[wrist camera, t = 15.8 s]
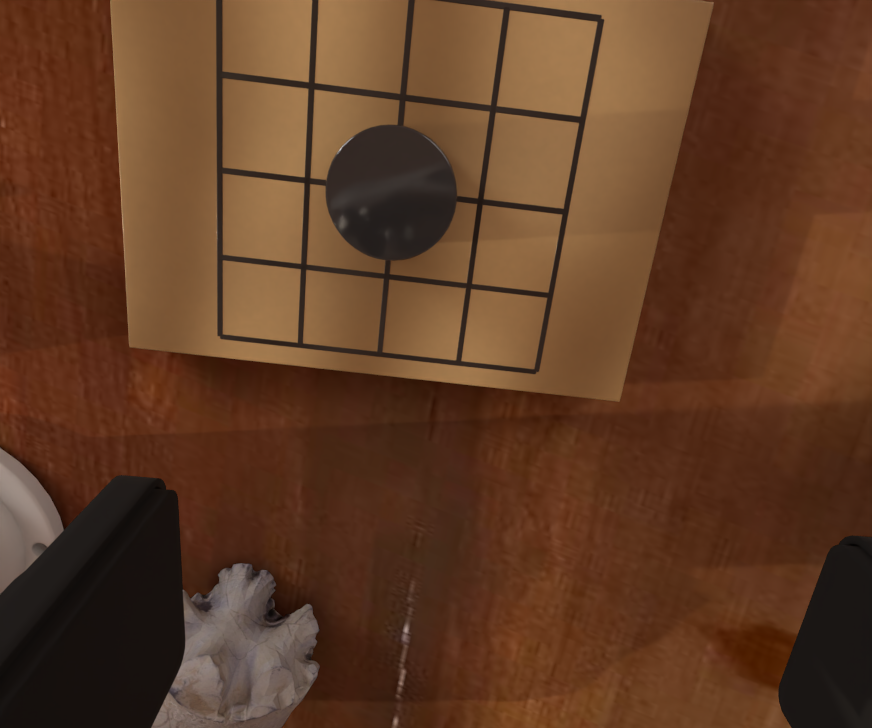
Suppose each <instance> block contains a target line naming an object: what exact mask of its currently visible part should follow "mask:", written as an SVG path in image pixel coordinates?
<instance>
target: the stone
mask: <svg viewBox="0 0 872 728" xmlns="http://www.w3.org/2000/svg"><path fill="white" fill-rule="evenodd" d="M218 576H219V584H217V585H215V587H214V588H213V590H212V591H211V592H209V593H208V594H207V595H204V596H203V595H201V594H200V593H196V594H195V595H194V596H193V597H192V598H191V599H190V597H189V596H188V594H187V592H186V591H184V590H183V604H184V622H185V651H184V656H183V660H182V664H181V667H180V669H179V671H178V674H177V676H176V678H175V680H174V682H173V684H172V686H171V688H170V690H169V692H168V694H167V696H166V698H165V700H164V702H163V705H162V707H161V709H160V711H159V713H158V715H157V717H156V719H155V721H154V723H153V725H152V727H151V728H281V727H282V726H283V725H284V724H285V722H286V720H287V719H288V717H289V715H290V713H291V712H292V711H293V710H294V708H295V707H296V706H297V705H298V704H299V703H300V702H301V701H302V699H303V698H304V696H305V695H306V694H307V692H308V690H309V689H310V687H311V686H312V684H313V683H314V681H315V680H316V678H317V674H318V671H319V668H320V666H319V664H318V663H317V662H316V661H312V660H311V657H312V654H313V648H314V647H315V645H316V643H317V641H316V639H315V637H316V634H317V633H318V632H319V628H318V624H317V620H316V619H315V617H314V615H313V608H312V606H311V605H310V604H306V605H305V606H303V607H302V608H301V609H299V610H296V611H295V612H294V613H292V614H286V615H285V616H284V617H283V616H281V615H280V614H279V613H278V612H277V611H276V610H274V607H275V603H274V600H273V599H272V598H271V595H272V594H273V593H274V592H275V591H276V590H275V589H274V587H275V586H276V583H275V581H274V580H273V579H274V578H273V577H272V575H271V574H270V572H268V571H267V570H260V571H258V572H255V571H254V570H253V568H252V565H251V564H243V563H240V564H234V565H233V566H232V568H225V569H223V570H221V571H220V573H219V574H218Z"/></svg>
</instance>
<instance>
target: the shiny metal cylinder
mask: <svg viewBox="0 0 872 728" xmlns="http://www.w3.org/2000/svg"><path fill="white" fill-rule="evenodd" d="M325 197H326V204H327V208H328V212H329V215H330V217H331V220H332V222H333V224H334V226H335V228H336V229H337V231H338V232H339V233H340V235H341V236H342V237H343V238H344V239H345V240H346V241H347V243H349V244H350V245H351V246H352V247H353V248H355V249H356V250H358V251H360V252H361V253H363V254H365V255H367V256H370V257H373V258H376V259H380V260H386V261H399V260H406V259H410V258H413V257H416V256H418V255H420V254H422V253H424V252H426V251H428V250H429V249H430V248H432V247H433V246H434V245H435V244H436V243H437V242H439V240H440V239H441V238H442V237H443V236H444V234H445V233H446V231H447V230H448V228H449V226H450V224H451V222H452V220H453V217H454V214H455V210H456V205H457V184H456V179H455V175H454V172H453V169H452V166H451V163H450V161H449V159H448V157H447V156H446V154H445V152H444V151H443V149H442V148H441V147H440V146H439V145H438V144H437V143H436V142H435V141H434V140H433V139H432V138H430V137H429V136H427V135H426V134H424V133H422V132H420V131H418V130H415V129H412V128H409V127H406V126H401V125H392V124H387V125H378V126H374V127H370V128H367V129H365V130H362V131H361V132H359V133H357V134H355V135H354V136H353V137H351V138H350V139H349V140H347V141H346V142H345V143H344V144H343V145H342V146H341V148H340V149H339V150H338V152H337V153H336V155H335V157H334V158H333V160H332V162H331V165H330V167H329V170H328V174H327V178H326V186H325Z"/></svg>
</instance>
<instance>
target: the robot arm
mask: <svg viewBox="0 0 872 728" xmlns="http://www.w3.org/2000/svg"><path fill="white" fill-rule="evenodd" d="M184 651H185V622H184V604H183V585H182V566H181V547H180V528H179V509H178V497H177V494H176V492H175V491H174V490H166V486H165V484H164V481H163V480H161V479H159V478H147V477H134V476H122V475H121V476H116V477H115V478H114V479H112V480H111V482H110V483H109V484H108V485H107V486H106V487H105V488H104V489H103V490H102V491H101V492H100V493H99V494H98V495H97V496H96V497H95V498H94V499H93V500H92V501H91V502H90V504H89V505H88V506H87V507H86V508H85V509H84V510H83V511H82V512H81V513H80V514H79V515H78V516H77V517H76V518H75V519H74V520H73V521H72V522H71V523H70V524H69V526H68V527H67V528H66V529H65V530H64V529H63V525H62V522H61V518H60V516H59V514H58V512H57V510H56V507H55V505H54V503H53V501H52V499H51V497H50V496H49V495H48V493H47V492H46V491H45V489H44V488H43V487H42V485H41V484H40V483H39V481H38V480H37V479H36V478H35V477H34V476H33V475H32V474H31V473H30V472H29V471H28V470H27V469H26V468H25V467H24V466H23V465H22V464H21V463H20V462H19V461H18V460H16V459H15V458H13V457H12V456H11V455H9V454H8V453H7V452H5V451H4V450H2V449H1V448H0V728H151V727H152V725H153V723H154V721H155V719H156V717H157V715H158V713H159V711H160V709H161V707H162V705H163V702H164V700H165V698H166V696H167V694H168V692H169V690H170V688H171V686H172V684H173V682H174V680H175V678H176V676H177V674H178V671H179V669H180V667H181V664H182V660H183V656H184ZM779 702H780V706H781V709H782V712H783V714H784V716H785V717H786V719H787V721H788V722H789V724H790V726H791V727H792V728H872V537H863V536H848V537H845V538H844V539H843V540H842V541H840V543H839V545H835V546H833V547H832V548H831V549H830V551H829V552H828V554H827V557H826V560H825V563H824V565H823V568H822V571H821V573H820V576H819V579H818V582H817V584H816V587H815V590H814V592H813V595H812V598H811V601H810V603H809V606H808V609H807V611H806V614H805V617H804V620H803V622H802V625H801V628H800V630H799V633H798V636H797V639H796V641H795V644H794V647H793V649H792V652H791V655H790V658H789V660H788V663H787V666H786V668H785V671H784V674H783V677H782V679H781V682H780V685H779Z"/></svg>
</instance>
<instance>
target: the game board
mask: <svg viewBox="0 0 872 728" xmlns="http://www.w3.org/2000/svg"><path fill="white" fill-rule="evenodd" d="M110 5H111V23H112V42H113V60H114V78H115V96H116V114H117V132H118V150H119V168H120V186H121V205H122V223H123V241H124V259H125V277H126V295H127V313H128V331H129V347H131V348H140V349H149V350H158V351H167V352H176V353H185V354H194V355H203V356H212V357H221V358H230V359H239V360H248V361H257V362H266V363H275V364H284V365H293V366H302V367H311V368H320V369H329V370H338V371H347V372H356V373H365V374H374V375H383V376H392V377H401V378H410V379H419V380H428V381H437V382H446V383H455V384H464V385H473V386H482V387H491V388H500V389H509V390H518V391H527V392H536V393H545V394H554V395H563V396H572V397H581V398H590V399H599V400H608V401H617V402H619V401H620V398H621V394H622V390H623V385H624V381H625V377H626V373H627V369H628V364H629V360H630V356H631V352H632V347H633V343H634V339H635V335H636V331H637V326H638V322H639V318H640V314H641V310H642V305H643V301H644V297H645V293H646V288H647V284H648V280H649V276H650V272H651V267H652V263H653V259H654V255H655V250H656V246H657V242H658V238H659V234H660V229H661V225H662V221H663V217H664V213H665V208H666V204H667V200H668V196H669V191H670V187H671V183H672V179H673V175H674V170H675V166H676V162H677V158H678V154H679V149H680V145H681V141H682V137H683V132H684V128H685V124H686V120H687V116H688V111H689V107H690V103H691V99H692V94H693V90H694V86H695V82H696V78H697V73H698V69H699V65H700V61H701V57H702V52H703V48H704V44H705V40H706V35H707V31H708V27H709V23H710V19H711V14H712V10H713V6H714V3H713V2H707V1H700V0H110ZM387 124H392V125H401V126H406V127H409V128H412V129H415V130H418V131H420V132H422V133H424V134H426V135H427V136H429V137H430V138H432V139H433V140H434V141H435V142H436V143H437V144H438V145H439V146H440V147H441V148H442V149H443V151H444V152H445V154H446V156H447V157H448V159H449V161H450V163H451V166H452V169H453V172H454V175H455V179H456V184H457V205H456V210H455V214H454V217H453V220H452V222H451V224H450V226H449V228H448V230H447V231H446V233H445V234H444V236H443V237H442V238H441V239H440V240H439V242H437V243H436V244H435V245H434V246H433V247H432V248H430V249H429V250H428V251H426V252H424V253H422V254H420V255H418V256H416V257H413V258H410V259H406V260H399V261H386V260H380V259H376V258H373V257H370V256H367V255H365V254H363V253H361V252H360V251H358V250H356V249H355V248H353V247H352V246H351V245H350V244H349V243H347V241H346V240H345V239H344V238H343V237H342V236H341V235H340V233H339V232H338V231H337V229H336V228H335V226H334V224H333V222H332V220H331V217H330V215H329V212H328V208H327V204H326V197H325V186H326V178H327V174H328V170H329V167H330V165H331V162H332V160H333V158H334V157H335V155H336V153H337V152H338V150H339V149H340V148H341V146H342V145H343V144H344V143H345V142H346V141H347V140H349V139H350V138H351V137H353V136H354V135H355V134H357V133H359V132H361V131H362V130H365V129H367V128H370V127H374V126H378V125H387Z"/></svg>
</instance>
